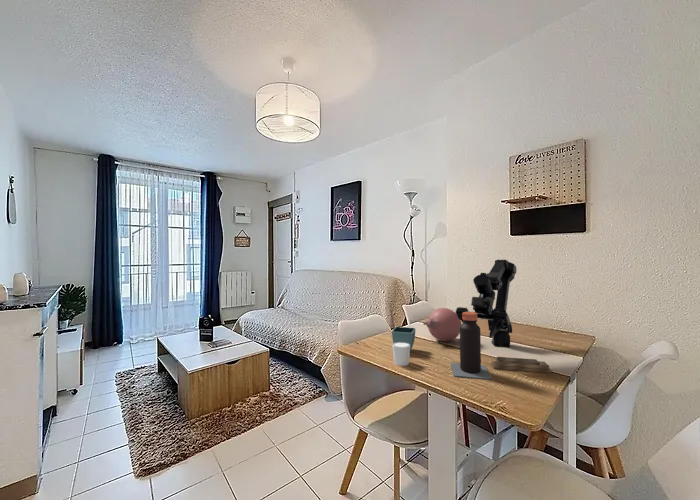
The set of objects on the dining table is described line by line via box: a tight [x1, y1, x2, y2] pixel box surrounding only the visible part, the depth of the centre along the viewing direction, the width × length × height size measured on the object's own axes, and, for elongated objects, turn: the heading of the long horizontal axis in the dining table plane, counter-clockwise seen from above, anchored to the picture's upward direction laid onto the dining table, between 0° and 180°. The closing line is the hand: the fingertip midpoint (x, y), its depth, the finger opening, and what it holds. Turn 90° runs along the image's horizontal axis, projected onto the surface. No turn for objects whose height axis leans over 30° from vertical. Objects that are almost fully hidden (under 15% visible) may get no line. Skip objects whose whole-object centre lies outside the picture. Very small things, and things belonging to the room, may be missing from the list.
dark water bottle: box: [459, 311, 482, 373], centre depth 105 cm, size 7×7×20 cm
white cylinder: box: [391, 342, 411, 367], centre depth 114 cm, size 7×7×7 cm
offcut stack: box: [491, 356, 552, 374], centre depth 108 cm, size 18×5×3 cm, turn 76°
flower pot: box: [391, 326, 416, 351], centre depth 128 cm, size 9×9×9 cm
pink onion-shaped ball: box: [422, 307, 462, 342], centre depth 141 cm, size 15×20×15 cm
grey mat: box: [450, 362, 493, 381], centre depth 105 cm, size 12×12×1 cm
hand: (476, 335), depth 111 cm, fingers open, 9 cm apart
